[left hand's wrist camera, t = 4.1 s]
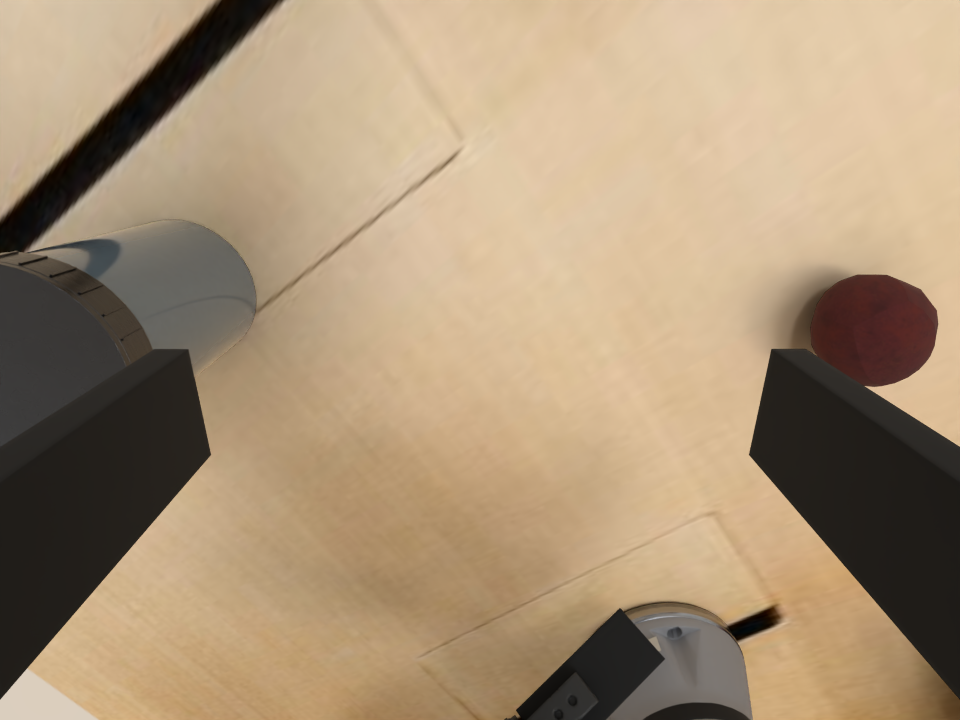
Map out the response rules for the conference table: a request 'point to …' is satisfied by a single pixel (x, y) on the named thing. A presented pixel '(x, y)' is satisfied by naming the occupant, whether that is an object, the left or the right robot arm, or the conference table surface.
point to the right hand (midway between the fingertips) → (637, 642)
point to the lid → (57, 338)
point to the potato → (874, 329)
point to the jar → (172, 284)
